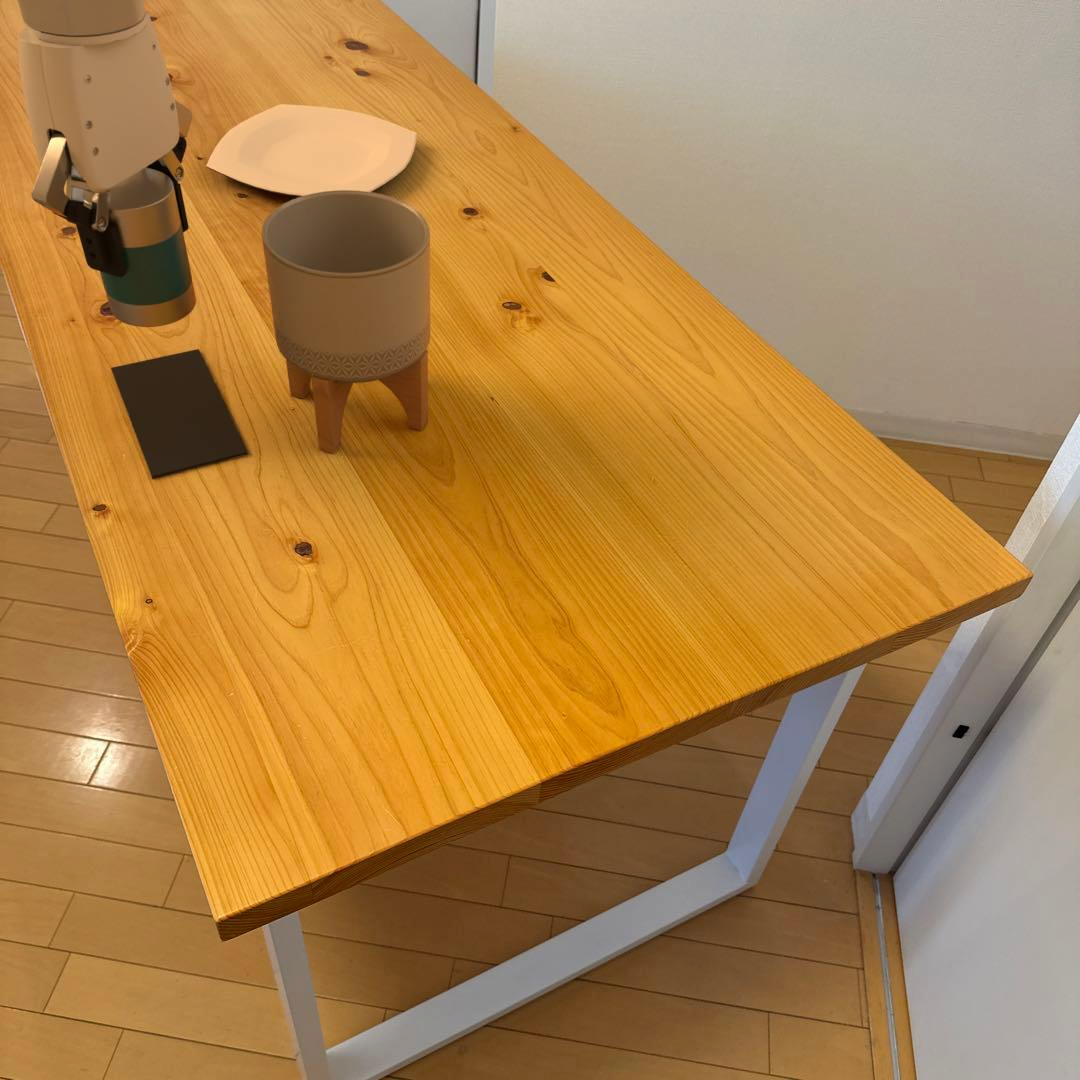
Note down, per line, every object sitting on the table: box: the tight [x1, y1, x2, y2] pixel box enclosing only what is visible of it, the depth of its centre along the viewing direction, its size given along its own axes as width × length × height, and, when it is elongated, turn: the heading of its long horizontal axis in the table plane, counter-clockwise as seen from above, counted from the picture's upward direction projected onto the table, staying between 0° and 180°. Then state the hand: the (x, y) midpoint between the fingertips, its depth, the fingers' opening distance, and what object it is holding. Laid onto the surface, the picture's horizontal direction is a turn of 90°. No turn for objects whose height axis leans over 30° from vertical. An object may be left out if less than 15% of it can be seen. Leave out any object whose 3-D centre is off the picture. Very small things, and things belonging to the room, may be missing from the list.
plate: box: [206, 103, 418, 198], centre depth 123 cm, size 23×23×2 cm
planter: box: [261, 190, 431, 455], centre depth 85 cm, size 13×13×18 cm
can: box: [84, 168, 197, 328], centre depth 78 cm, size 7×7×10 cm
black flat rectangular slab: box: [110, 348, 249, 480], centre depth 89 cm, size 16×8×1 cm, turn 28°
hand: (139, 246), depth 78 cm, fingers closed on can, 6 cm apart
